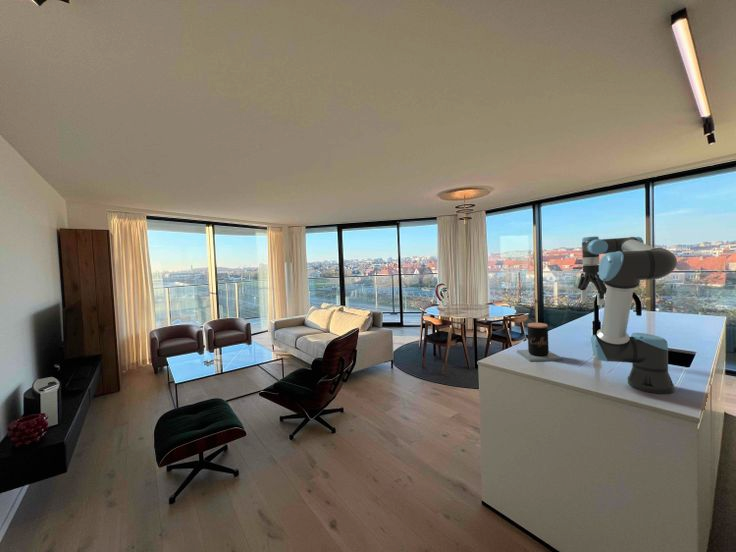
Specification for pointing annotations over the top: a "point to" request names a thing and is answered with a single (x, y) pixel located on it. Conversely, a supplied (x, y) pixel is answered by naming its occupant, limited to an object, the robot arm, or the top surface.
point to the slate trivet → (532, 358)
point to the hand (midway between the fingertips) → (591, 303)
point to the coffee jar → (538, 339)
